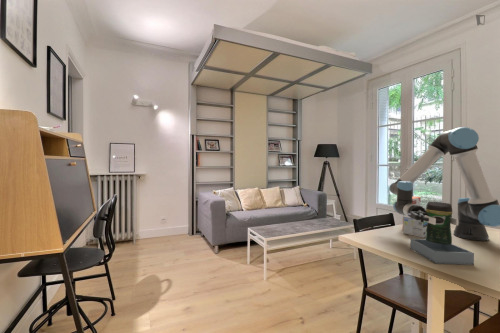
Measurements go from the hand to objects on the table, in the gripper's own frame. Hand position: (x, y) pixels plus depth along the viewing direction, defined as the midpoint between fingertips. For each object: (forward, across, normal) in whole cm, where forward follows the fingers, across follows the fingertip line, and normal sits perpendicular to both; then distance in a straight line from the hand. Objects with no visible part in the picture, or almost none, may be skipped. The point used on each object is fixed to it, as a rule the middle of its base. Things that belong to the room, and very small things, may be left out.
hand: (446, 222), depth 105 cm
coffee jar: (-5, 0, -11) cm, 12 cm away
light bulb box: (-39, -11, -17) cm, 44 cm away
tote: (-4, -1, -17) cm, 18 cm away
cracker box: (-53, -17, -17) cm, 59 cm away
